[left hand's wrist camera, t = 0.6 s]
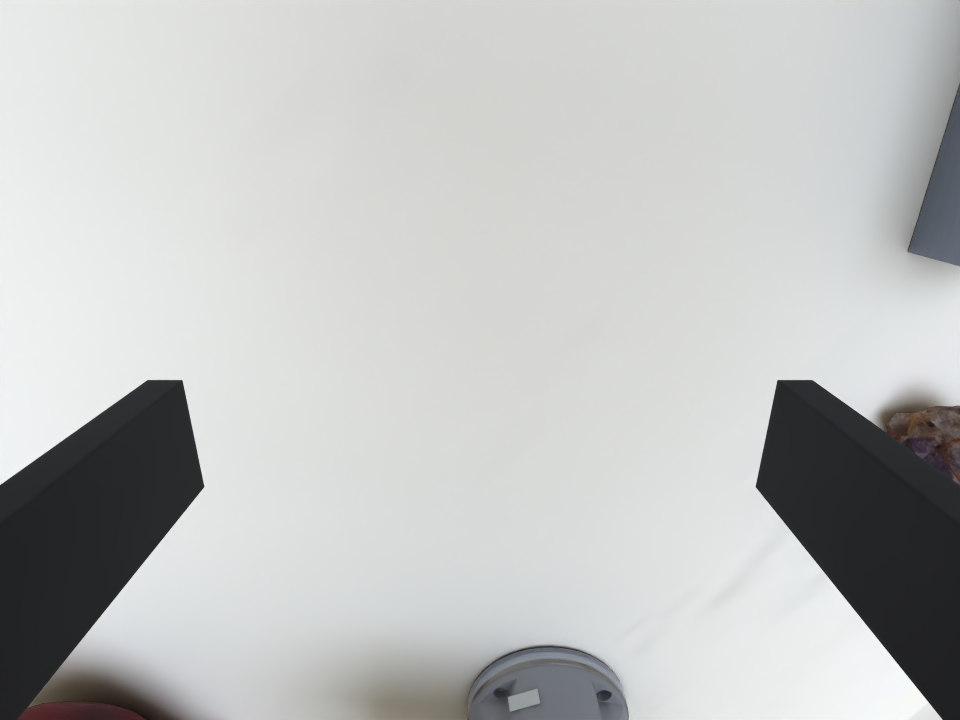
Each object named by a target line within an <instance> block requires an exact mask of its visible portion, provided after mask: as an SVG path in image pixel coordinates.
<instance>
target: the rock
mask: <svg viewBox="0 0 960 720" xmlns="http://www.w3.org/2000/svg"><path fill="white" fill-rule="evenodd" d="M886 426H887V428H888V434H889V435H890V436H891V437H893V438H894V439H896V440H897V441H898V442H900V443H901V444H903V445H904V446H905V447H907V448H908V449H910V450H911V451H912V452H914V453H915V454H917V455H918V456H919V457H921V458H922V459H924V460H925V461H927V462H928V463H929V464H931V465H932V466H934V467H935V468H936V469H938V470H939V471H941V472H942V473H943V474H945V475H946V476H948V477H949V478H950V479H952V480H953V481H955V482H956V483H957V484H959V485H960V406H953V407H947V406H935V407H931V408H928V409H926V410H924V411H920V412H912V413H897V412H896V414H895V415H894V416H893V417H892V418H891V421H889V422H888V423H887V424H886Z"/></svg>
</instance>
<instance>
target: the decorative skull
mask: <svg viewBox="0 0 960 720" xmlns="http://www.w3.org/2000/svg"><path fill="white" fill-rule="evenodd" d="M17 720H146V719H145V718H143V717H142V716H140V715H139V714H137V713H136V712H133V711H131V710H128V709H125V708H121V707H118V706H115V705H111V704H106V703H98V702H87V701H66V702H54V703H43V704H40V705H36V706H32V707H29V708H27V709H25V711H24V712H23V713H22V714H21V716H20V717H19V718H18V719H17Z"/></svg>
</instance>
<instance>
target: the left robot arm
mask: <svg viewBox="0 0 960 720" xmlns="http://www.w3.org/2000/svg"><path fill="white" fill-rule="evenodd" d="M203 488H204V483H203V478H202V474H201V469H200V464H199V459H198V454H197V449H196V444H195V439H194V434H193V430H192V425H191V420H190V415H189V410H188V405H187V400H186V395H185V391H184V386H183V381H182V380H147V381H146V382H144V383H143V384H142V385H140V386H139V387H137V388H136V389H135V390H133V391H132V392H130V393H129V394H128V395H126V396H125V397H123V398H122V399H121V400H119V401H118V402H116V403H115V404H114V405H112V406H111V407H109V408H108V409H107V410H105V411H104V412H102V413H101V414H100V415H98V416H97V417H95V418H94V419H92V420H91V421H90V422H88V423H87V424H85V425H84V426H83V427H81V428H80V429H78V430H77V431H76V432H74V433H73V434H71V435H70V436H69V437H67V438H66V439H64V440H63V441H62V442H60V443H59V444H57V445H56V446H55V447H53V448H52V449H50V450H49V451H48V452H46V453H45V454H43V455H42V456H41V457H39V458H38V459H36V460H35V461H33V462H32V463H31V464H29V465H28V466H26V467H25V468H24V469H22V470H21V471H19V472H18V473H17V474H15V475H14V476H12V477H11V478H10V479H8V480H7V481H5V482H4V483H3V484H1V485H0V720H17V719H18V718H19V717H20V716H21V714H22V713H23V712H24V711H25V709H26V708H27V707H28V706H29V704H30V703H31V702H32V701H33V699H34V698H35V697H36V696H37V694H38V693H39V692H40V691H41V690H42V688H43V687H44V686H45V685H46V683H47V682H48V681H49V680H50V678H51V677H52V676H53V675H54V673H55V672H56V671H57V670H58V668H59V667H60V666H61V665H62V663H63V662H64V661H65V660H66V658H67V657H68V656H69V655H70V653H71V652H72V651H73V650H74V648H75V647H76V646H77V645H78V643H79V642H80V641H81V640H82V638H83V637H84V636H85V635H86V633H87V632H88V631H89V630H90V629H91V627H92V626H93V625H94V624H95V622H96V621H97V620H98V619H99V617H100V616H101V615H102V614H103V612H104V611H105V610H106V609H107V607H108V606H109V605H110V604H111V602H112V601H113V600H114V599H115V597H116V596H117V595H118V594H119V592H120V591H121V590H122V589H123V587H124V586H125V585H126V584H127V582H128V581H129V580H130V579H131V577H132V576H133V575H134V574H135V572H136V571H137V570H138V569H139V568H140V566H141V565H142V564H143V563H144V561H145V560H146V559H147V558H148V556H149V555H150V554H151V553H152V551H153V550H154V549H155V548H156V546H157V545H158V544H159V543H160V541H161V540H162V539H163V538H164V536H165V535H166V534H167V533H168V531H169V530H170V529H171V528H172V526H173V525H174V524H175V523H176V521H177V520H178V519H179V518H180V516H181V515H182V514H183V513H184V512H185V510H186V509H187V508H188V507H189V505H190V504H191V503H192V502H193V500H194V499H195V498H196V497H197V495H198V494H199V493H200V492H201V490H202V489H203ZM756 488H757V489H758V490H759V492H760V493H761V494H762V495H763V497H764V498H765V499H766V500H767V502H768V503H769V504H770V505H771V507H772V508H773V509H774V510H775V512H776V513H777V514H778V515H779V516H780V518H781V519H782V520H783V521H784V523H785V524H786V525H787V526H788V528H789V529H790V530H791V531H792V533H793V534H794V535H795V536H796V538H797V539H798V540H799V541H800V543H801V544H802V545H803V546H804V548H805V549H806V550H807V551H808V553H809V554H810V555H811V556H812V558H813V559H814V560H815V561H816V563H817V564H818V565H819V566H820V568H821V569H822V570H823V571H824V572H825V574H826V575H827V576H828V577H829V579H830V580H831V581H832V582H833V584H834V585H835V586H836V587H837V589H838V590H839V591H840V592H841V594H842V595H843V596H844V597H845V599H846V600H847V601H848V602H849V604H850V605H851V606H852V607H853V609H854V610H855V611H856V612H857V614H858V615H859V616H860V617H861V619H862V620H863V621H864V622H865V624H866V625H867V626H868V627H869V629H870V630H871V631H872V632H873V633H874V635H875V636H876V637H877V638H878V640H879V641H880V642H881V643H882V645H883V646H884V647H885V648H886V650H887V651H888V652H889V653H890V655H891V656H892V657H893V658H894V660H895V661H896V662H897V663H898V665H899V666H900V667H901V668H902V670H903V671H904V672H905V673H906V675H907V676H908V677H909V678H910V680H911V681H912V682H913V683H914V685H915V686H916V687H917V688H918V690H919V691H920V692H921V693H922V694H923V696H924V697H925V698H926V699H927V701H928V702H929V703H930V704H931V706H932V707H933V708H934V709H935V711H936V712H937V713H938V714H939V716H940V717H941V718H942V719H943V720H960V485H959V484H957V483H956V482H955V481H953V480H952V479H950V478H949V477H948V476H946V475H945V474H943V473H942V472H941V471H939V470H938V469H936V468H935V467H934V466H932V465H931V464H929V463H928V462H927V461H925V460H924V459H922V458H921V457H919V456H918V455H917V454H915V453H914V452H912V451H911V450H910V449H908V448H907V447H905V446H904V445H903V444H901V443H900V442H898V441H897V440H896V439H894V438H893V437H891V436H890V435H889V434H887V433H886V432H884V431H883V430H882V429H880V428H879V427H877V426H876V425H875V424H873V423H872V422H870V421H869V420H868V419H866V418H865V417H863V416H862V415H860V414H859V413H858V412H856V411H855V410H853V409H852V408H851V407H849V406H848V405H846V404H845V403H844V402H842V401H841V400H839V399H838V398H837V397H835V396H834V395H832V394H831V393H830V392H828V391H827V390H825V389H824V388H823V387H821V386H820V385H818V384H817V383H816V382H814V381H813V380H778V381H777V386H776V391H775V395H774V400H773V405H772V410H771V415H770V420H769V425H768V430H767V434H766V439H765V444H764V449H763V454H762V459H761V464H760V469H759V474H758V478H757V483H756ZM628 719H629V717H628V708H627V704H626V700H625V696H624V692H623V689H622V686H621V683H620V681H619V680H618V678H617V676H616V675H615V674H614V673H613V671H612V670H611V669H610V668H609V667H607V666H606V665H605V664H604V663H602V662H601V661H599V660H597V659H596V658H594V657H592V656H590V655H587V654H585V653H582V652H579V651H575V650H571V649H565V648H554V647H543V648H534V649H527V650H523V651H519V652H516V653H513V654H510V655H508V656H505V657H503V658H502V659H500V660H498V661H496V662H495V663H493V664H492V665H490V666H489V667H488V668H486V669H485V670H484V671H483V672H482V673H481V674H480V675H479V677H478V678H477V679H476V681H475V682H474V684H473V686H472V688H471V691H470V694H469V698H468V720H628Z"/></svg>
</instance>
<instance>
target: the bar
mask: <svg viewBox="0 0 960 720" xmlns="http://www.w3.org/2000/svg"><path fill="white" fill-rule="evenodd" d="M908 252H910V253H914V254H917V255H921V256H925V257H928V258H932V259H936V260H939V261H943V262H946V263H950V264H954V265H957V266H960V86H959V89H958V93H957V96H956V99H955V102H954V106H953V109H952V112H951V115H950V118H949V122H948V125H947V128H946V131H945V134H944V138H943V141H942V144H941V147H940V150H939V154H938V157H937V160H936V163H935V167H934V170H933V173H932V176H931V179H930V183H929V186H928V189H927V192H926V195H925V199H924V202H923V205H922V208H921V211H920V215H919V218H918V221H917V224H916V228H915V231H914V234H913V237H912V240H911V244H910V247H909V250H908Z"/></svg>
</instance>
